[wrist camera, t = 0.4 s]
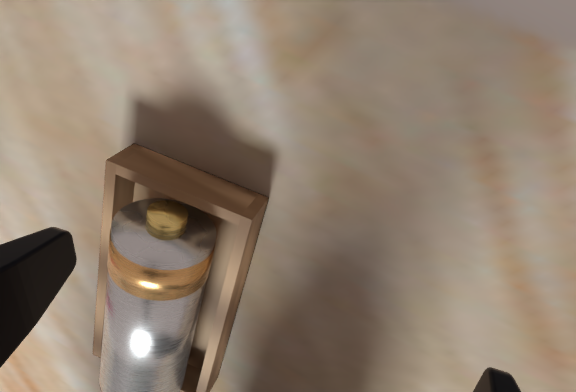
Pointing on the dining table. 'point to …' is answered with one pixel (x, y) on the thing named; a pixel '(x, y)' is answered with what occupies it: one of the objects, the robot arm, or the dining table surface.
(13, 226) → the dining table surface
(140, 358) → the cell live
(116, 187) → the trough
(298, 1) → the dining table surface
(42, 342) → the dining table surface
